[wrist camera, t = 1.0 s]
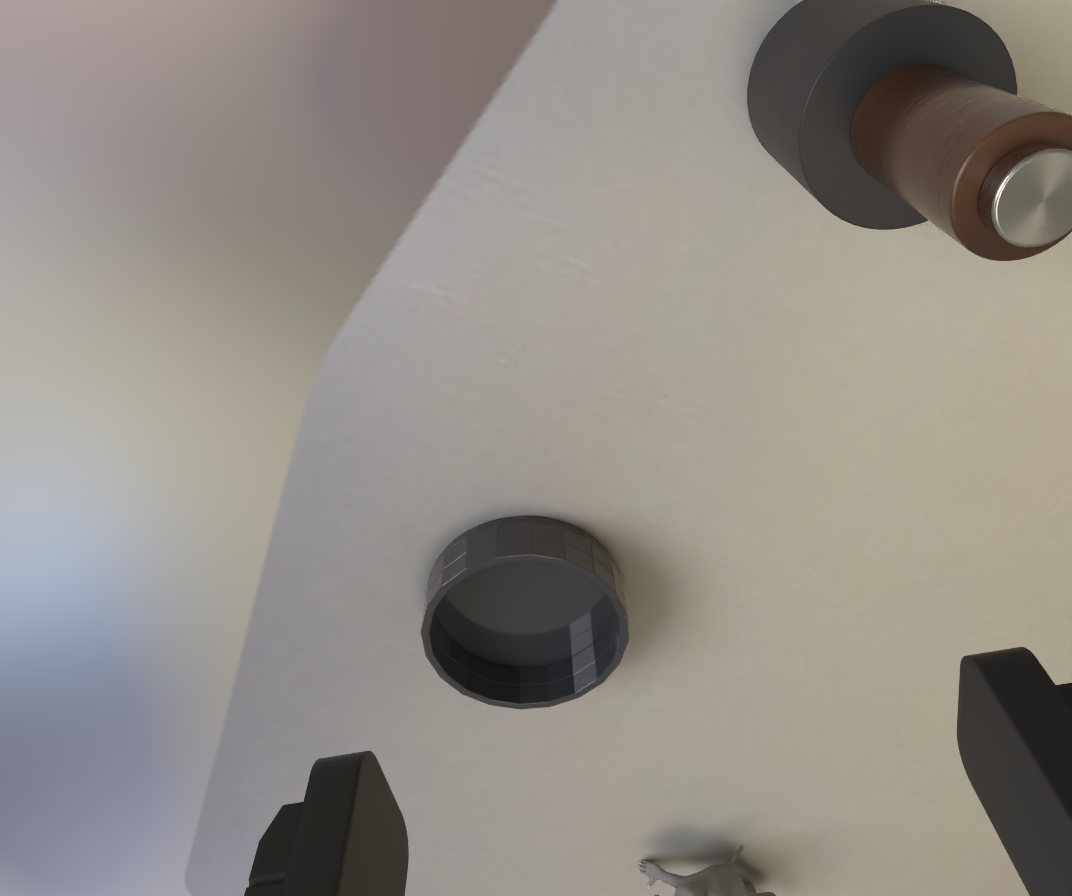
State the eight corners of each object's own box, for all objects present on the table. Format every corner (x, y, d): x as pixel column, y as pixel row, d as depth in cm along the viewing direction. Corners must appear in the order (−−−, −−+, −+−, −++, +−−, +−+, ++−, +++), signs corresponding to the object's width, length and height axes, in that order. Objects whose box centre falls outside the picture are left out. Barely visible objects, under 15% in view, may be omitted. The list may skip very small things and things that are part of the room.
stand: (712, 76, 32) (757, 114, 26) (866, -58, 30) (954, -50, 24) (807, 207, 35) (867, 270, 29) (955, 92, 33) (1054, 134, 27)
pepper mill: (828, 119, 26) (937, 193, 19) (930, 36, 25) (1086, 83, 18) (885, 205, 28) (1007, 302, 21) (985, 129, 26) (1149, 206, 20)
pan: (386, 589, 44) (378, 631, 42) (533, 480, 41) (534, 518, 38) (517, 692, 48) (517, 736, 46) (661, 599, 45) (669, 641, 42)
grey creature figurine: (686, 917, 60) (604, 913, 54) (706, 825, 61) (627, 812, 55) (824, 981, 53) (746, 986, 47) (842, 875, 54) (769, 867, 48)
